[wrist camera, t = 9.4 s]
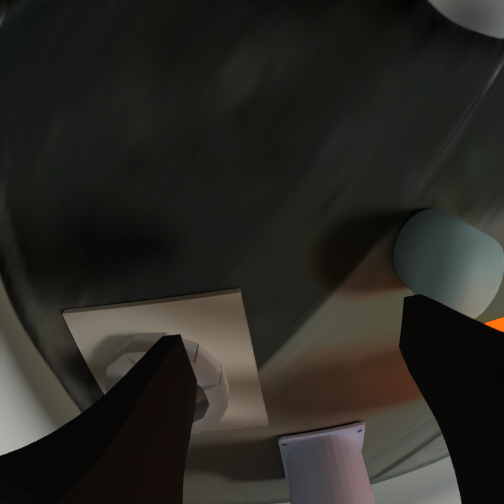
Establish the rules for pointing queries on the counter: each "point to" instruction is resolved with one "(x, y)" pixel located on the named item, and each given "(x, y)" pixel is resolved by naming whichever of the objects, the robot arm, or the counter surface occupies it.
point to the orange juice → (497, 324)
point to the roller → (449, 261)
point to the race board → (190, 323)
